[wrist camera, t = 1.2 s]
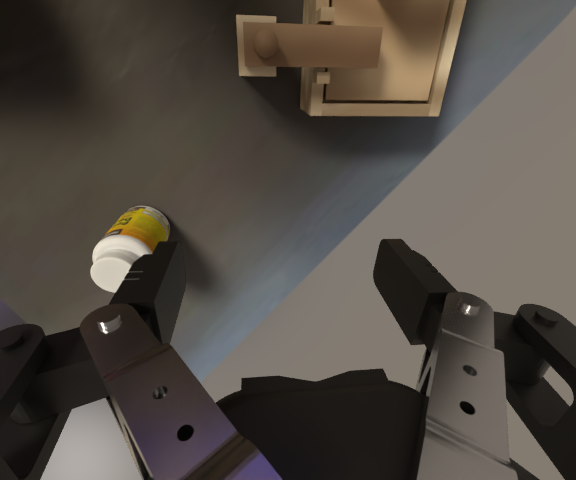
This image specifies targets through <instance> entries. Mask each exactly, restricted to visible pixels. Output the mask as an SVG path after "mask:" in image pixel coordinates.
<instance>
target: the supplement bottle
mask: <svg viewBox="0 0 576 480" xmlns="http://www.w3.org/2000/svg"><path fill="white" fill-rule="evenodd" d="M169 235H170V225H169V222H168V220H167V219H166V217H165V216H164V215H163V214H162V213H161V212H160V211H158V210H156V209H154V208H152V207H148V206H136V207H133V208H130V209H129V210H127V211H126V212H125V213H124V214H123V215H122V216H121V217H120V218H119V220H118V221H117V222H116V223H115V224H114V225H113V226H112V228H111V229H110V230H109V231H108V232H107V233H106V234H105V236H104V237H103V238H102V239H101V240H100V241H99V242H98V244H97V245H96V247H95V249H94V251H93V263H94V264H93V265H92V268H91V277H92V279H93V281H94V282H95V283H96V284H97V285H98V286H99V287H101V288H102V289H104V290H106V291H110V292H115V293H116V291H117V290H118V288H119V286H120V284H121V283H122V281H123V280H124V278H125V276H126V274H127V273H128V272H129V269H130V268H131V266H132V264H133V262H134V261H136V260H137V259H138V258H140V257H141V256H143V255H144V254H152V253H153V251H154V249H155V247H156V246H157V244H158V242H159V241H167V240H168V238H169Z"/></svg>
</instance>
